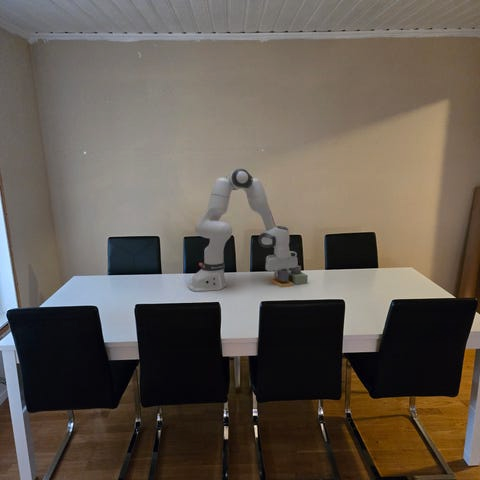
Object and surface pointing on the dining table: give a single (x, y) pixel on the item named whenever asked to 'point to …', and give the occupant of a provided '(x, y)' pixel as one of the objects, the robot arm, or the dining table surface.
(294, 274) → the grey and tan shapes
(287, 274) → the dark grey block
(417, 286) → the dining table surface
